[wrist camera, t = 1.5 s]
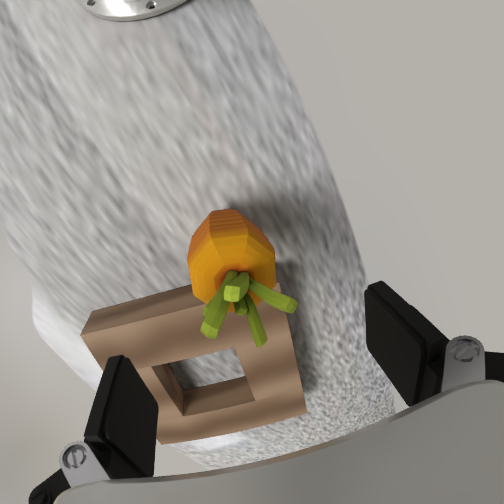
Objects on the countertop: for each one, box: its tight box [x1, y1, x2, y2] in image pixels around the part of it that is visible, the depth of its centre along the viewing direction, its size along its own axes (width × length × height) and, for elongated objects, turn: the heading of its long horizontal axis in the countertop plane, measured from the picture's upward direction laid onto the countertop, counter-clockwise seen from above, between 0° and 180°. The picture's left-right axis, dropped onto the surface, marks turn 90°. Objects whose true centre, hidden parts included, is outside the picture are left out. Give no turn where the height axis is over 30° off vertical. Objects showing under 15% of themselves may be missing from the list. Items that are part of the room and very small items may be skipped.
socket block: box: [80, 277, 307, 444], centre depth 29 cm, size 18×18×4 cm
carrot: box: [187, 209, 298, 348], centre depth 19 cm, size 5×5×15 cm
